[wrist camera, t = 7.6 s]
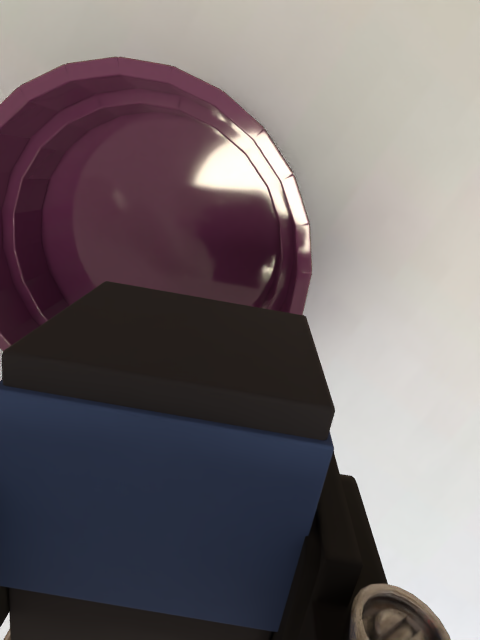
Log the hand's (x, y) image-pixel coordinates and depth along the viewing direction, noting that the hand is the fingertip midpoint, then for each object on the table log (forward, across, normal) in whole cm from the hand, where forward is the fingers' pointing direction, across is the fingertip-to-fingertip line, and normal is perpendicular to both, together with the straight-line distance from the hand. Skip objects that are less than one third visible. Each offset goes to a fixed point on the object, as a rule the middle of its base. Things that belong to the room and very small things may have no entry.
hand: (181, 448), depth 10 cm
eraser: (+1, 0, 0) cm, 1 cm away
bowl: (+15, +4, -2) cm, 16 cm away
